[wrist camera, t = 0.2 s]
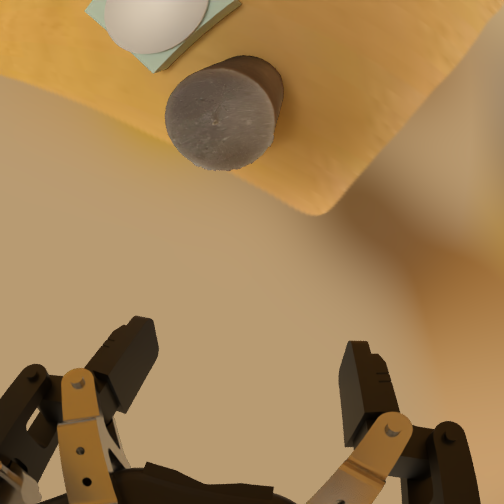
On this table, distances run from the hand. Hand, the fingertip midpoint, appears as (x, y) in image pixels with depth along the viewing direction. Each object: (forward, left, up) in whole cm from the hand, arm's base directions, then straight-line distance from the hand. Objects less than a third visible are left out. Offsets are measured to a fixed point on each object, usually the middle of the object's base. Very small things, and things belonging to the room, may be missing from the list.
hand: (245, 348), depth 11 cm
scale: (-23, -1, -31) cm, 38 cm away
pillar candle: (-6, -2, -31) cm, 32 cm away
